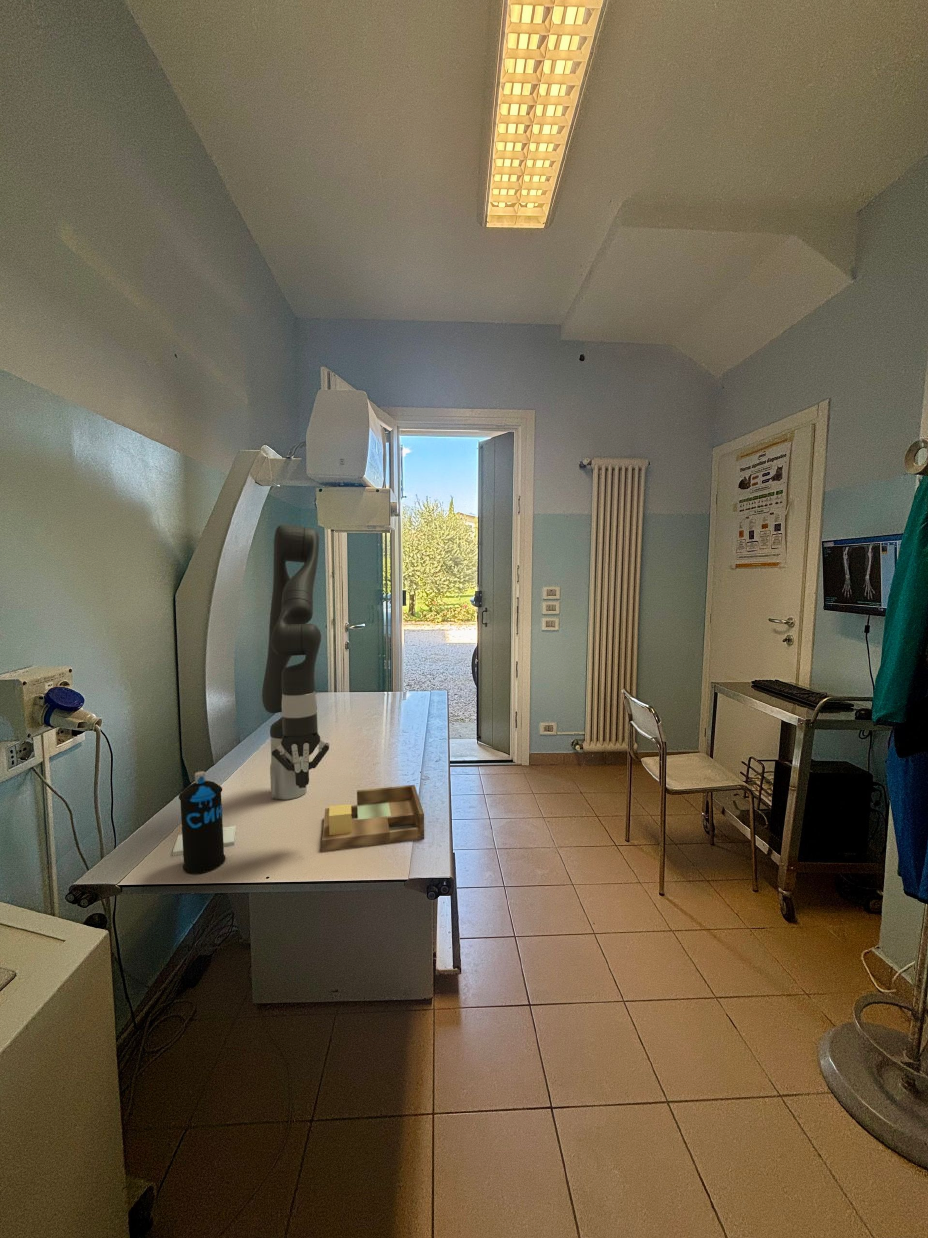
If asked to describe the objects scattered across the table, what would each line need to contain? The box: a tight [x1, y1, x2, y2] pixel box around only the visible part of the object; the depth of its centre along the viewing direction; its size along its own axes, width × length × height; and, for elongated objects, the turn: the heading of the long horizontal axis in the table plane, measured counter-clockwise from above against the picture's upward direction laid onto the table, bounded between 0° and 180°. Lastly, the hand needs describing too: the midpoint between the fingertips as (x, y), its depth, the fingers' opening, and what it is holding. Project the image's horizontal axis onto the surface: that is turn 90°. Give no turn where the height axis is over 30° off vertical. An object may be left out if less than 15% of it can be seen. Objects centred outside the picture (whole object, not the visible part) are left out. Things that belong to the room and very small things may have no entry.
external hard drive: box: [172, 825, 237, 857], centre depth 117 cm, size 2×8×12 cm
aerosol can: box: [178, 770, 227, 875], centre depth 107 cm, size 8×8×20 cm
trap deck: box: [321, 784, 425, 852], centre depth 123 cm, size 23×17×6 cm
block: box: [329, 804, 352, 835], centre depth 117 cm, size 5×5×4 cm
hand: (302, 786), depth 115 cm, fingers closed
